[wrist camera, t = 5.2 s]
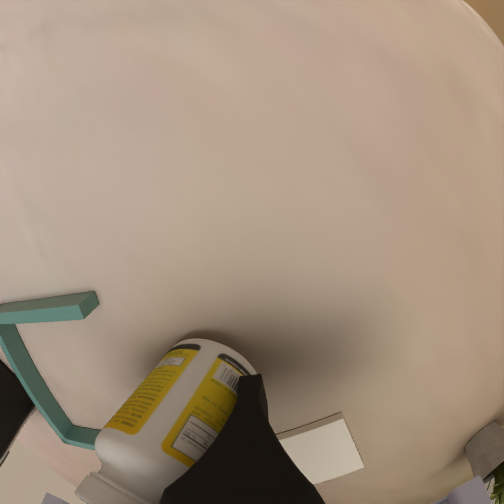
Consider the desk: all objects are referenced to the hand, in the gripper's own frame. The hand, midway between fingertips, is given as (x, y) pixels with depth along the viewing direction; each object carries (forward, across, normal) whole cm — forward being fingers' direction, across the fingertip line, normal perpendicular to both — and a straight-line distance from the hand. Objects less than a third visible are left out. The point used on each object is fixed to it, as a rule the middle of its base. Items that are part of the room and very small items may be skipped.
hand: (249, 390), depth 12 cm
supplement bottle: (+2, +2, +1) cm, 3 cm away
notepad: (+2, -3, +12) cm, 12 cm away
